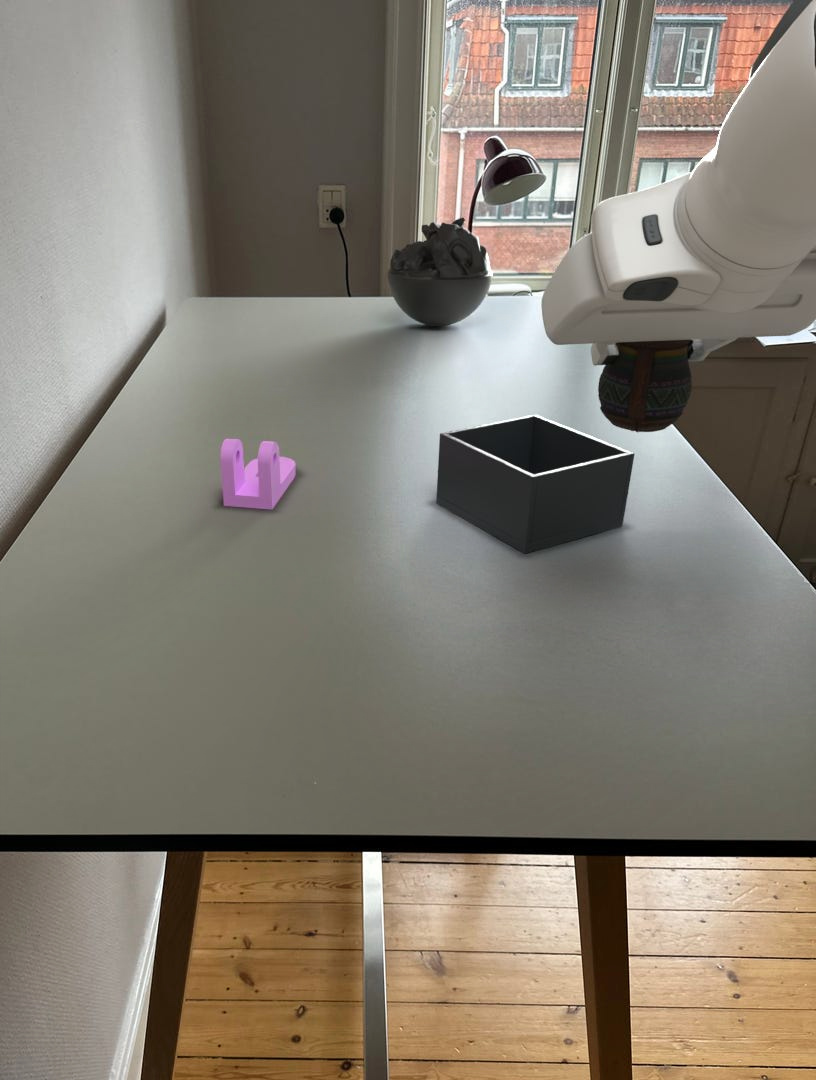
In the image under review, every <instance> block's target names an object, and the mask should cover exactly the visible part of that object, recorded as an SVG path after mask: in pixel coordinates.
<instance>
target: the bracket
mask: <svg viewBox="0 0 816 1080" xmlns="http://www.w3.org/2000/svg"><path fill="white" fill-rule="evenodd" d="M244 462H245V461H244V447H243V443H242V441H241V440H240V439H237V438H225V439H224V440H223V441H222V444H221V449H220V472H221V484H222V485H221V486H222V499H223V506H224V507H231V508H232V507H235V508H245V509H257V510H258V509H260V510H272V511H273V509H275V506H276V505H277V504H278V503H279V501H280V500H281V498H282V497H283V495H284V494H285V492H286V490H287V489H288V488H289V486H290V485H291V484H292V482H293V480H294V479H295V478H296V474H297V473H296V470H297V469H296V462H295V460H293V458H289V457H287V456H280V448H279V444H278V442H277V441H270V440H269V441H268V440H267V441H266V440H263V441H261V442H260V444H259V448H258V453H257V457H256V458H254V459H252V460H250V461H249V463H248V464H246V466H245V463H244Z"/></svg>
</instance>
